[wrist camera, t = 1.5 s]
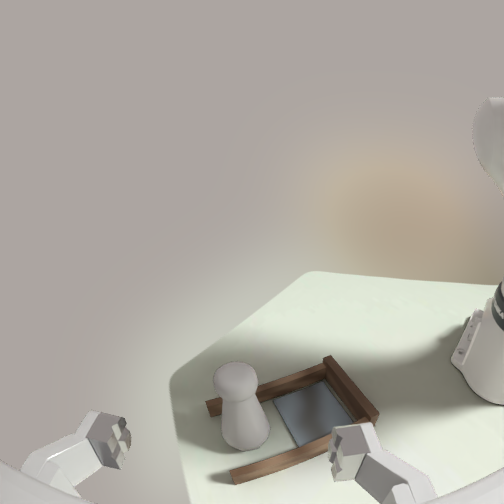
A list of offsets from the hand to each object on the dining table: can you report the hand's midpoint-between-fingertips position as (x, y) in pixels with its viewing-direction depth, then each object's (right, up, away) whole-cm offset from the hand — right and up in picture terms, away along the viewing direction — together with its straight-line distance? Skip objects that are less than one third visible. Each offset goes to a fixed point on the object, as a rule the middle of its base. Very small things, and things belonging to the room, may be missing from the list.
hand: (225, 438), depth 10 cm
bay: (+6, -15, +24) cm, 29 cm away
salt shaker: (0, -16, +23) cm, 28 cm away
